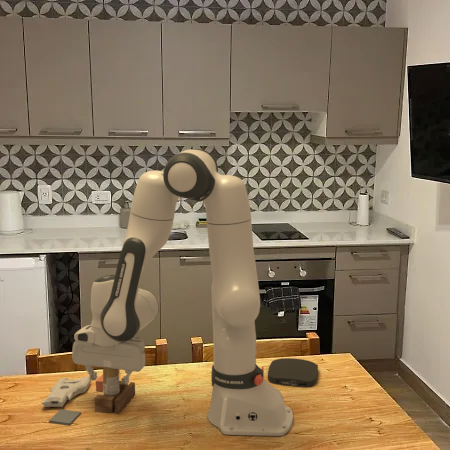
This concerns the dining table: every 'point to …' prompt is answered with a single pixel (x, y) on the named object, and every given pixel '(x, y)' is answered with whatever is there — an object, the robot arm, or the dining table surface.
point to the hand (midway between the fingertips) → (109, 381)
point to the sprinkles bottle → (110, 380)
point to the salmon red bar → (100, 383)
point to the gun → (65, 391)
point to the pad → (65, 417)
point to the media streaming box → (293, 372)
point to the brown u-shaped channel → (110, 403)
